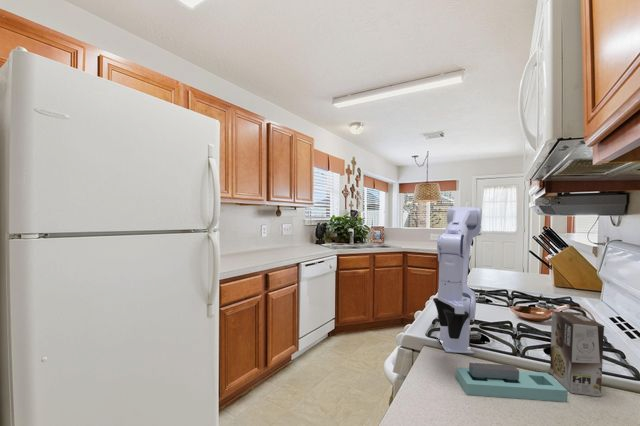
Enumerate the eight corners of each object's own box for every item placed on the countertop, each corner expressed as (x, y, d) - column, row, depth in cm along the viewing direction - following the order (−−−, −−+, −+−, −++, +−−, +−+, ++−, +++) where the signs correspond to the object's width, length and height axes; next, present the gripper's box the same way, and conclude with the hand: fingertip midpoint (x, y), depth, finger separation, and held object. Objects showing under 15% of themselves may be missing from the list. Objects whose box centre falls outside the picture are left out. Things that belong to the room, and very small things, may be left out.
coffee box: (602, 397, 68) (606, 326, 68) (569, 393, 69) (572, 323, 69) (577, 375, 77) (580, 312, 77) (548, 371, 78) (551, 309, 78)
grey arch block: (468, 383, 73) (469, 362, 73) (512, 386, 72) (513, 365, 72) (472, 389, 70) (473, 368, 70) (518, 392, 69) (519, 370, 69)
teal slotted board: (467, 394, 68) (467, 383, 68) (455, 377, 75) (456, 367, 75) (567, 401, 66) (567, 390, 66) (546, 383, 73) (546, 372, 73)
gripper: (478, 288, 71) (476, 345, 72) (456, 274, 86) (455, 321, 86) (447, 287, 72) (445, 343, 73) (430, 273, 87) (429, 320, 87)
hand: (448, 331), depth 79 cm, fingers open, 7 cm apart
